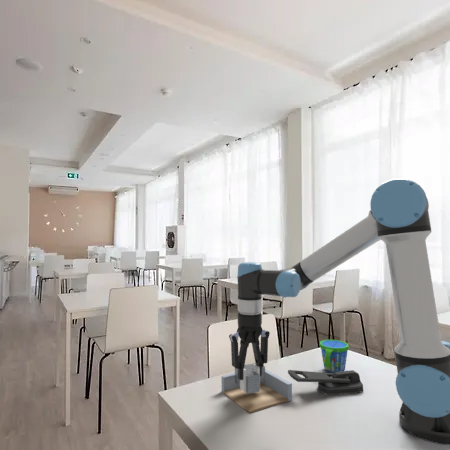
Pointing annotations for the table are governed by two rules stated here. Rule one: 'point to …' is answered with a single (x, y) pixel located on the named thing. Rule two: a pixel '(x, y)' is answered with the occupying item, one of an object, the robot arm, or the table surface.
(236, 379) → the angle bracket
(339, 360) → the snack cup
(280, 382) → the corner walls
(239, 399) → the cork mat
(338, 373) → the zipper pull
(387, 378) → the table surface
